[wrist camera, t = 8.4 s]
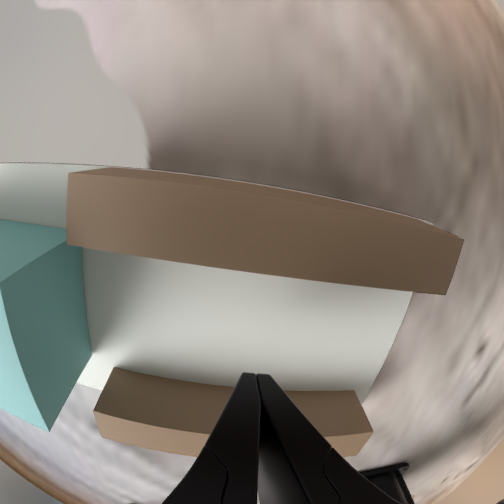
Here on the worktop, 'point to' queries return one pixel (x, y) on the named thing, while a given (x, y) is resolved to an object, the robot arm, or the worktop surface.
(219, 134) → the worktop surface
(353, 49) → the worktop surface
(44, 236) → the block
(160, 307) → the chute
